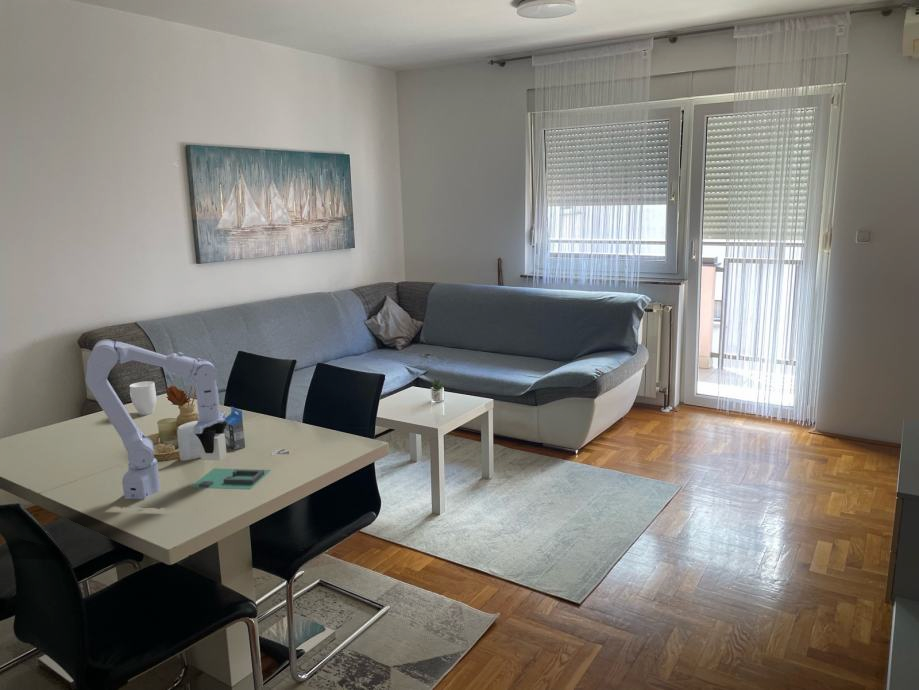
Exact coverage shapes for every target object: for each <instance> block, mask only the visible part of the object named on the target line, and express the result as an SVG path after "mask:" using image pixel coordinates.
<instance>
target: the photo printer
mask: <svg viewBox="0 0 919 690" xmlns="http://www.w3.org/2000/svg"><path fill="white" fill-rule="evenodd" d="M197 422H198V420H193V421H189V422H186V423H183V424H181V425H179V426H178V427H177V431H176V432H177V433H176V435H177V444H178V454H179V460H180V461H182V462H183V461H184V462H185V461H191V460H194V459H198V458H200V459H201V454H200V445H199V441H200V440H199V438H198V437H197V436H196V434H194V428H193V427H194V426H195V425H196V424H197Z"/></svg>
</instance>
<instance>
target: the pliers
mask: <svg viewBox="0 0 919 690" xmlns="http://www.w3.org/2000/svg"><path fill="white" fill-rule="evenodd" d="M289 454H290V450H285V448H284V447H282V448H279V449H277V450H273V451H271V452H270V454H269V455H270V456H276V455H289Z"/></svg>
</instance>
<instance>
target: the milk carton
mask: <svg viewBox="0 0 919 690" xmlns="http://www.w3.org/2000/svg"><path fill="white" fill-rule="evenodd" d="M230 410H231V411H230V413H229V414H228V415H226V418H225V420H224V421H226V422H227V425H226V427H225V429H224V433H223V434H225V443H226V446H227V447H229V448H231V449H233V450H236V451H237V450H240V449H241V450H242V449H243V448H246V442H245V432H244V423H243V422H244V421H243V410H240V409H238V408H236V407H235V406H232V405H231V406H230Z"/></svg>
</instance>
